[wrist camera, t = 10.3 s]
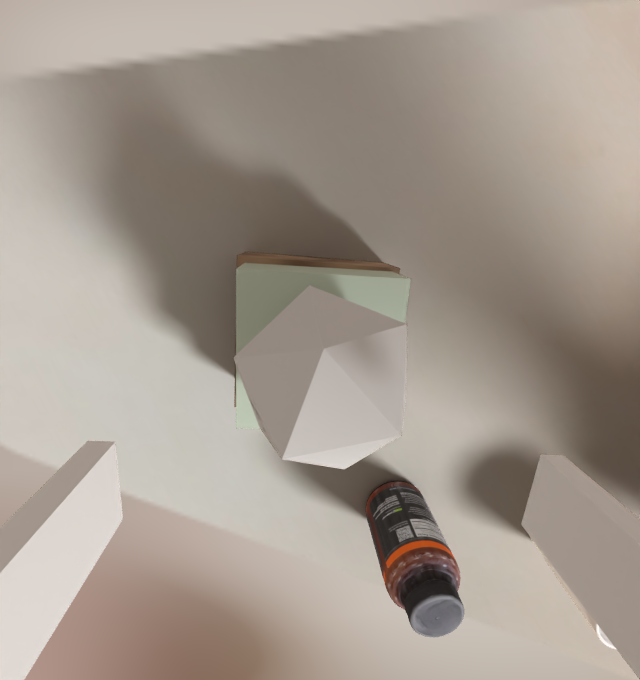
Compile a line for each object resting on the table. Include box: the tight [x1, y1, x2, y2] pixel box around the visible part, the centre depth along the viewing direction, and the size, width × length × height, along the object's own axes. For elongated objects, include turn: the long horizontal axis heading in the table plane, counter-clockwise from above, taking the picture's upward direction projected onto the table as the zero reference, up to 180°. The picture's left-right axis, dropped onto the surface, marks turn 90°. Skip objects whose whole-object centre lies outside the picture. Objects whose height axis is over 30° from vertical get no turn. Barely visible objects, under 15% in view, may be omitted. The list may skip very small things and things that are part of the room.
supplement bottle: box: [366, 481, 464, 637], centre depth 31 cm, size 6×6×11 cm
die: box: [233, 285, 407, 469], centre depth 18 cm, size 8×9×10 cm
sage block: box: [236, 263, 411, 429], centre depth 24 cm, size 10×10×4 cm
